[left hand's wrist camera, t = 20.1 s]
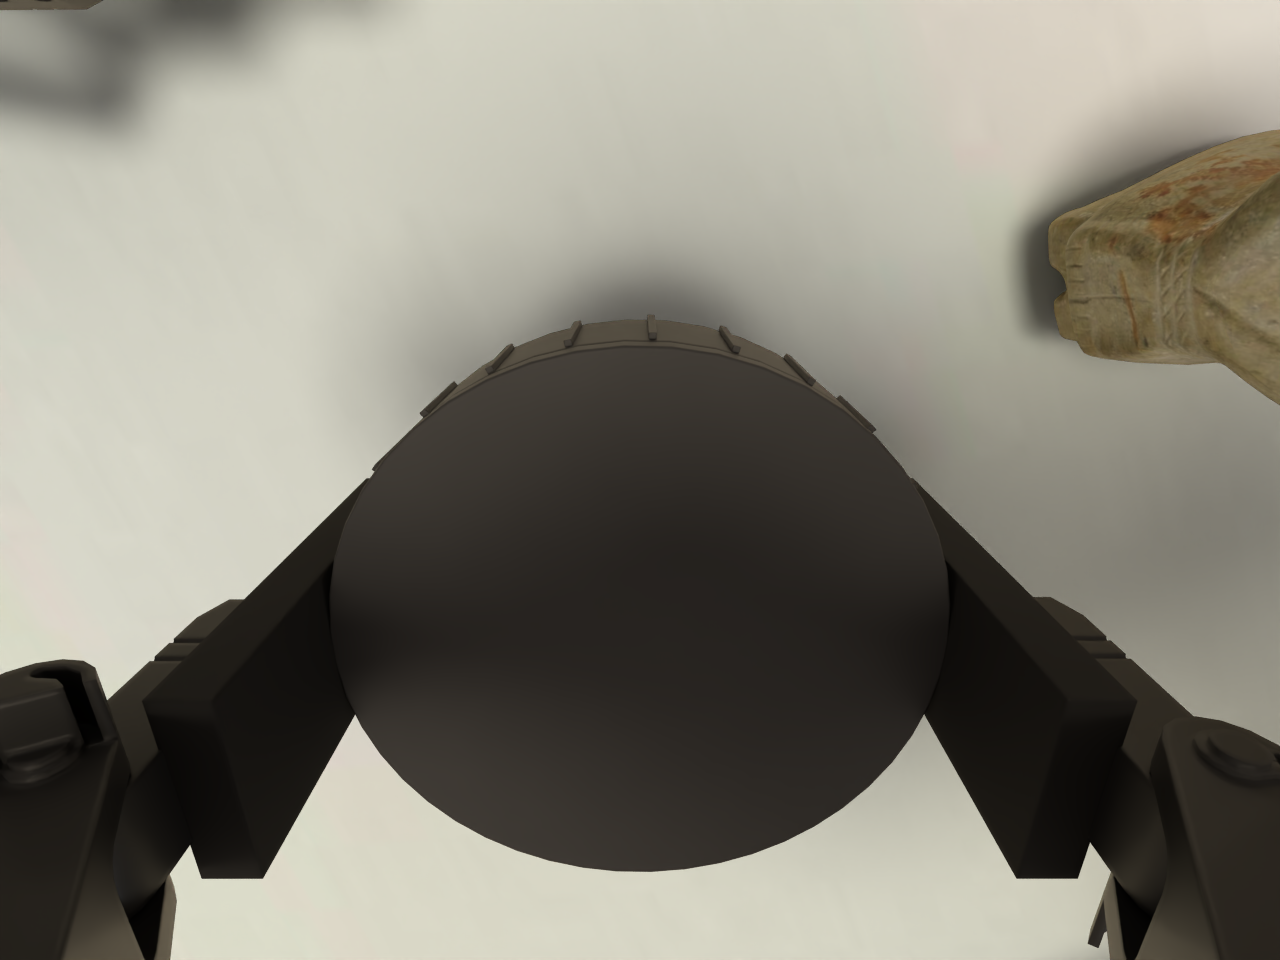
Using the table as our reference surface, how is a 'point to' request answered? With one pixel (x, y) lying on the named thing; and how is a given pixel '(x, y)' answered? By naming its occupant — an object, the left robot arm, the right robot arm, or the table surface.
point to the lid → (639, 599)
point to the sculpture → (1181, 265)
